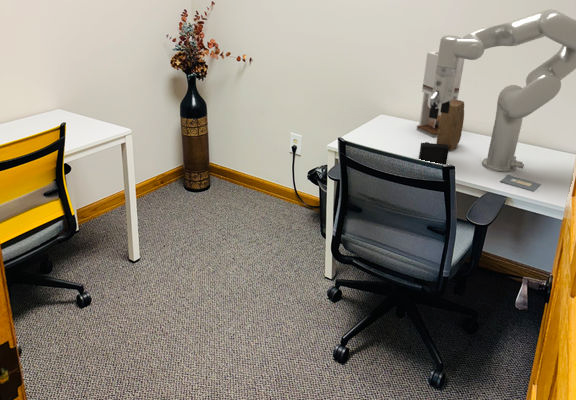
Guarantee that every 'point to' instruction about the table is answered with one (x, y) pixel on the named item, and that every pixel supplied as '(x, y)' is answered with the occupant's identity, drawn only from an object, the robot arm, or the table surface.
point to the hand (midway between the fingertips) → (438, 115)
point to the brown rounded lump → (451, 125)
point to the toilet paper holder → (426, 123)
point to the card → (520, 183)
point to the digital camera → (434, 152)
